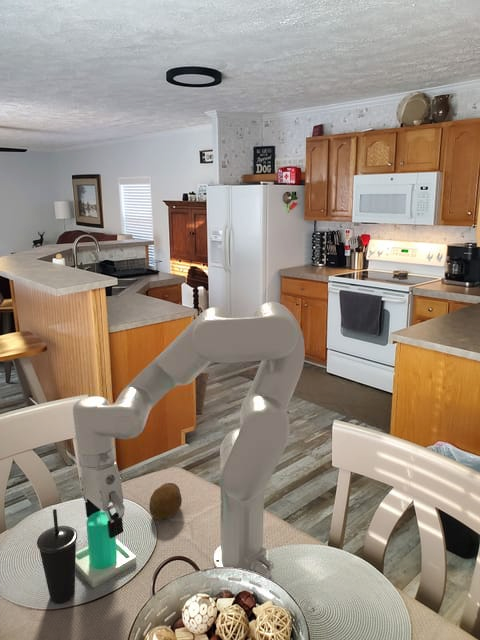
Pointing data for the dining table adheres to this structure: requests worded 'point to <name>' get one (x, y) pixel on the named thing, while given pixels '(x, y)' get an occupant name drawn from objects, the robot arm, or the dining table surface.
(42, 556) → the drinking cup
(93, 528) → the candle
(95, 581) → the tray
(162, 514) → the potato
